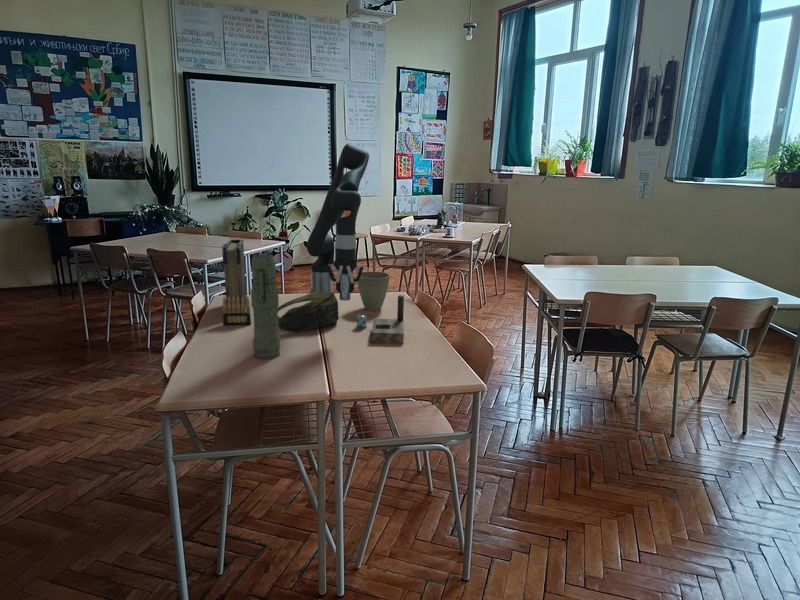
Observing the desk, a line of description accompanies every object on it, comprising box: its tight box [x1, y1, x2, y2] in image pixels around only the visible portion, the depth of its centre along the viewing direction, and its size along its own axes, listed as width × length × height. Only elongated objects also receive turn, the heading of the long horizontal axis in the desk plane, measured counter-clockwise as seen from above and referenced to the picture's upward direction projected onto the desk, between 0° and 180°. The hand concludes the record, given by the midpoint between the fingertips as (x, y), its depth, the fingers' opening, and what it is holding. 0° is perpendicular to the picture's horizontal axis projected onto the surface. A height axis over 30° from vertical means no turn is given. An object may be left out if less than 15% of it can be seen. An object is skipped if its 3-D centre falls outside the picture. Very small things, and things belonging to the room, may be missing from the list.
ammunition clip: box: [222, 295, 252, 327], centre depth 210 cm, size 11×2×12 cm, turn 99°
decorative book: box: [221, 239, 247, 312], centre depth 229 cm, size 23×7×30 cm, turn 12°
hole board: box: [370, 294, 405, 345], centre depth 203 cm, size 12×18×14 cm, turn 0°
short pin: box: [356, 314, 368, 330], centre depth 212 cm, size 4×4×5 cm
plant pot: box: [356, 270, 391, 311], centre depth 238 cm, size 15×15×16 cm
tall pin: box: [339, 274, 351, 302], centre depth 195 cm, size 4×4×10 cm
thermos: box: [250, 252, 281, 360], centre depth 177 cm, size 9×12×35 cm
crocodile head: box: [277, 291, 340, 333], centre depth 211 cm, size 27×17×15 cm
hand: (345, 291), depth 196 cm, fingers closed on tall pin, 4 cm apart
